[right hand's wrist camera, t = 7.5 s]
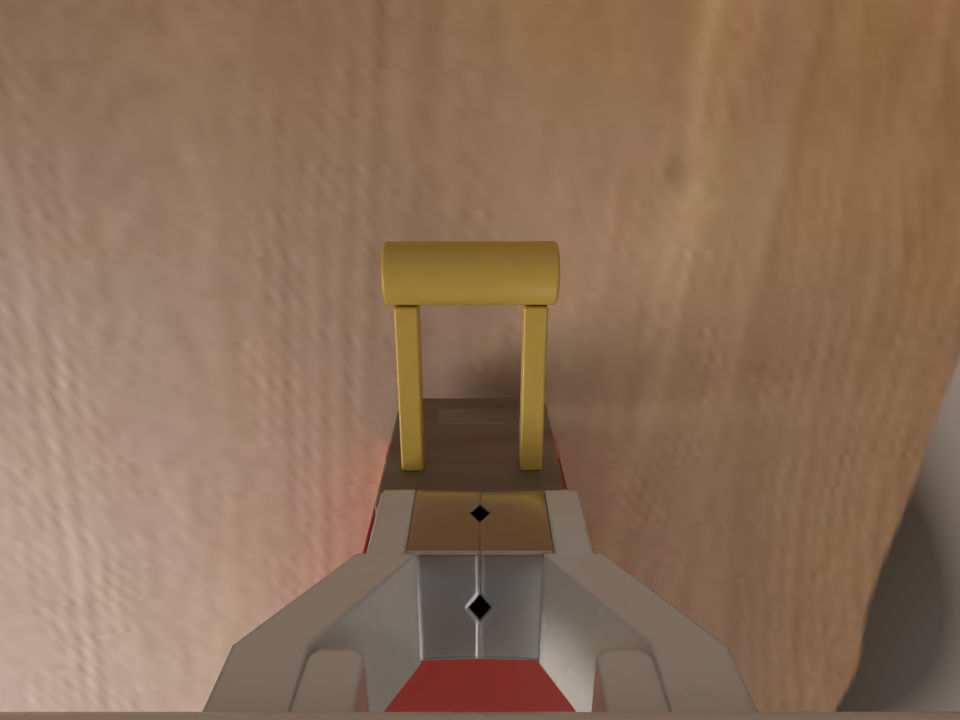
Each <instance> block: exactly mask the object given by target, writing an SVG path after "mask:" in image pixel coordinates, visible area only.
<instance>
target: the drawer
mask: <svg viewBox="0 0 960 720" xmlns="http://www.w3.org/2000/svg"><path fill="white" fill-rule="evenodd" d="M381 283H382V293H383V298H384V301H385V303H386V304H387V305H395V307H394V324H395V344H396V364H397V384H398V404H399V410H398V414H397V418H396V422H395V426H394V430H393V434H392V438H391V442H390V446H389V450H388V454H387V458H386V462H385V466H384V470H383V475H382V479H381V483H380V487H379V491H378V495H377V499H376V503H375V516H376V513H377V509H378V505H379V501H380V497H381V494H382V493H383V492H384V490H415V491H416V492H417V490H440V491H480V492H511V491H545V490H565V488H564V484H563V479H562V475H561V471H560V466H559V462H558V458H557V453H556V449H555V444H554V440H553V436H552V431H551V427H550V423H549V418H548V414H547V409H546V405H545V377H546V350H547V324H548V307H547V305H554V304H556V302H557V299H558V295H559V286H560V256H559V248H558V245H557V243H556V242H554V241H536V242H386V243H384V246H383V249H382V257H381ZM420 305H522V346H521V389H520V398H501V399H423V386H422V357H421V329H420Z"/></svg>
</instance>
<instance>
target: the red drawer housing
mask: <svg viewBox="0 0 960 720" xmlns="http://www.w3.org/2000/svg"><path fill="white" fill-rule="evenodd" d="M554 444H555V449H556V453H557V458H558V462H559V466H560V471H561V475H562V479H563V484H564V488H565V490H567V488H566V483H565V479H564V475H563V471H562V466H561V462H560V454H559V450H558V446H557V443H556V442H554ZM389 446H390V443H389ZM389 446H388V450H389ZM388 450H387V454H388ZM387 454H386V458H387ZM386 458H385V460H386ZM382 475H383V474H382ZM381 479H382V478H381ZM380 483H381V482H380ZM379 487H380V486H379ZM378 491H379V490H378ZM377 495H378V494H377ZM376 499H377V498H376ZM375 503H376V502H375ZM374 520H375V506H374V510H373V514H372V518H371V522H370V526H369V530H368V534H367V538H366V542H365V546H364V550H363V553H366V552H367V548H368V544H369V540H370V536H371V532H372V528H373V524H374ZM384 712H576V710H575V709H574V708H573V706H572V705H571V704H570V703H569V701H568V700H567V699H566V697H565V696H564V695H563V693H562V692H561V691H560V690H559V688H558V687H557V686H556V684H555V683H554V682H553V680H552V679H551V678H550V677H549V675H548V674H547V673H546V671H545V670H544V669H543V667H542V666H541V665H540V663H539V660H507V659H452V660H421V664H420V666H419V667H418V668H417V669H416V671H415V672H414V673H413V675H412V676H411V677H410V678H409V680H408V681H407V682H406V684H405V685H404V686H403V688H402V689H401V690H400V691H399V693H398V694H397V695H396V697H395V698H394V699H393V700H392V702H391V703H390V704H389V706H388V707H387V708H386V710H385V711H384Z"/></svg>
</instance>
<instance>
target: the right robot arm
mask: <svg viewBox="0 0 960 720" xmlns="http://www.w3.org/2000/svg"><path fill="white" fill-rule="evenodd" d="M452 659H507V660H539V663H540V665H541V666H542V667H543V669H544V670H545V671H546V673H547V674H548V675H549V677H550V678H551V679H552V680H553V682H554V683H555V684H556V686H557V687H558V688H559V690H560V691H561V692H562V693H563V695H564V696H565V697H566V699H567V700H568V701H569V703H570V704H571V705H572V706H573V708H574V709H575V710H576V712H384V711H385V710H386V708H387V707H388V706H389V704H390V703H391V702H392V700H393V699H394V698H395V697H396V695H397V694H398V693H399V691H400V690H401V689H402V688H403V686H404V685H405V684H406V682H407V681H408V680H409V678H410V677H411V676H412V675H413V673H414V672H415V671H416V669H417V668H418V667H419V666H420V664H421V660H452ZM0 720H960V712H757V710H756V708H755V705H754V703H753V701H752V699H751V697H750V694H749V692H748V690H747V688H746V685H745V683H744V681H743V679H742V677H741V674H740V672H739V670H738V668H737V666H736V663H735V661H734V659H733V657H732V654H731V652H730V650H729V648H728V646H726V645H725V644H724V643H722V642H721V641H720V640H718V639H717V638H716V637H714V636H713V635H712V634H710V633H709V632H708V631H706V630H705V629H704V628H702V627H701V626H700V625H698V624H697V623H696V622H694V621H693V620H692V619H690V618H689V617H688V616H686V615H685V614H684V613H682V612H681V611H679V610H678V609H677V608H675V607H674V606H673V605H671V604H670V603H669V602H667V601H666V600H665V599H663V598H662V597H661V596H659V595H658V594H657V593H655V592H654V591H653V590H651V589H650V588H649V587H647V586H646V585H645V584H643V583H642V582H641V581H639V580H638V579H637V578H635V577H634V576H633V575H631V574H630V573H629V572H627V571H626V570H625V569H623V568H622V567H621V566H619V565H618V564H617V563H615V562H614V561H613V560H611V559H610V558H609V557H607V556H606V555H605V554H597V553H594V552H593V548H592V544H591V540H590V536H589V533H588V529H587V525H586V521H585V517H584V513H583V509H582V505H581V501H580V497H579V494H578V492H577V491H576V490H575V489H571V490H545V491H511V492H480V491H440V490H417V492H416V491H415V490H384V492H383V493H382V494H381V497H380V501H379V505H378V509H377V513H376V516H375V520H374V524H373V528H372V532H371V536H370V540H369V544H368V548H367V552H366V553H363V554H356V555H354V556H353V557H351V558H350V559H349V560H347V561H346V562H345V563H343V564H342V565H341V566H339V567H338V568H337V569H335V570H334V571H333V572H331V573H330V574H329V575H327V576H326V577H325V578H323V579H322V580H321V581H319V582H318V583H317V584H315V585H314V586H312V587H311V588H310V589H308V590H307V591H306V592H304V593H303V594H302V595H300V596H299V597H298V598H296V599H295V600H294V601H292V602H291V603H290V604H288V605H287V606H286V607H284V608H283V609H282V610H280V611H279V612H278V613H276V614H275V615H273V616H272V617H271V618H269V619H268V620H267V621H265V622H264V623H263V624H261V625H260V626H259V627H257V628H256V629H255V630H253V631H252V632H251V633H249V634H248V635H247V636H245V637H244V638H243V639H241V640H240V641H238V642H237V643H236V644H234V645H233V646H232V649H231V651H230V653H229V655H228V657H227V660H226V662H225V664H224V666H223V668H222V670H221V673H220V675H219V677H218V679H217V681H216V684H215V686H214V688H213V690H212V692H211V694H210V697H209V699H208V701H207V703H206V705H205V708H204V710H203V712H0Z"/></svg>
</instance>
